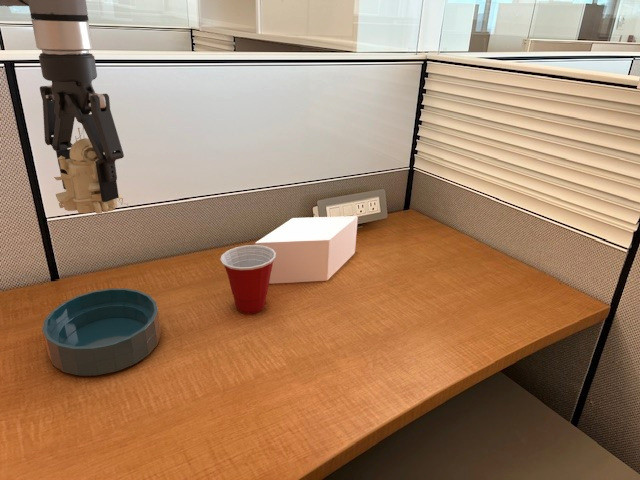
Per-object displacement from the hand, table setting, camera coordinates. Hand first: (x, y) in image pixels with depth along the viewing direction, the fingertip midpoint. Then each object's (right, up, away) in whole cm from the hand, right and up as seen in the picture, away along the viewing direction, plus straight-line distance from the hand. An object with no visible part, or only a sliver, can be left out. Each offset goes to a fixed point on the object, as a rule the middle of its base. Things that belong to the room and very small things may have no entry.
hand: (90, 193), depth 81 cm
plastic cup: (+24, -22, +17) cm, 37 cm away
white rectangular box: (+36, -15, +33) cm, 51 cm away
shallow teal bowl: (+1, -26, +4) cm, 27 cm away
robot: (0, -2, +1) cm, 3 cm away
